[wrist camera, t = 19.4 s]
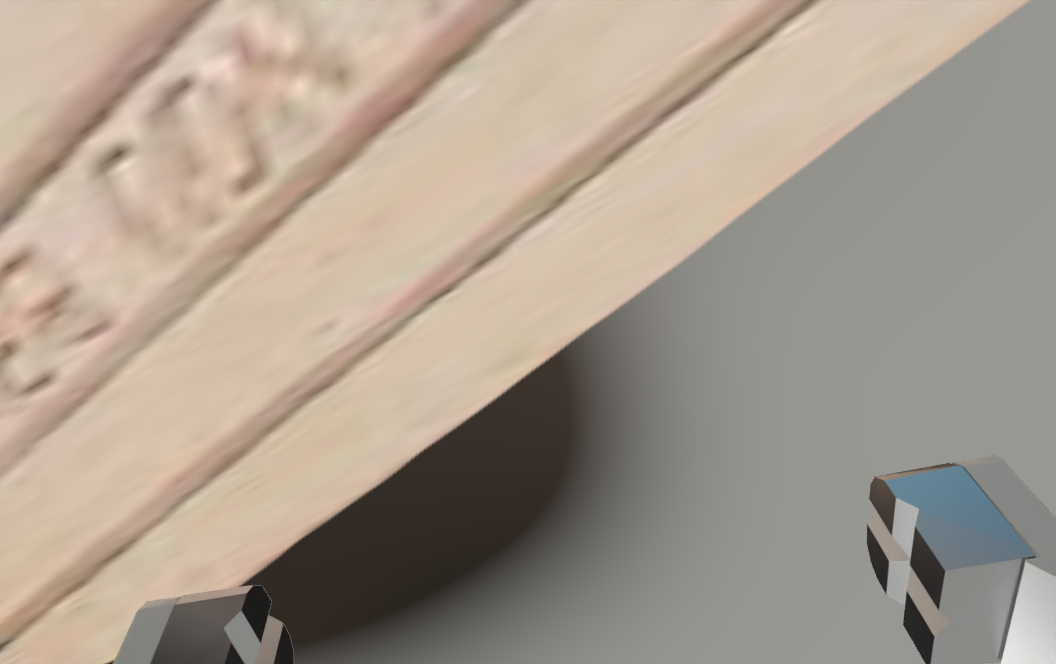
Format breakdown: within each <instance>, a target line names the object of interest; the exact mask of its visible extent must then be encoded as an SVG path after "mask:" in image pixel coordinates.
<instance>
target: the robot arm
mask: <svg viewBox="0 0 1056 664" xmlns="http://www.w3.org/2000/svg"><path fill="white" fill-rule="evenodd" d="M869 500H870V501H871V503H872V504H873V506H874V508H875V509H876V511H877V513H876V514H875V515H874V516H873V517H872V519H871V520H870V521H869V522H868V523H867V546H868V551H869V556H870V561H871V563H872V567H873V569H874V572H875V574H876V577H877V579H878V581H879V583H880V585H881V586H882V588H883V590H884V592H885V594H886V595H887V596H889V597H890V598H892V599H894V600H895V601H897V602H898V603H900V604H902V605H903V606H905V610H904V619H903V626H904V627H905V629H906V631H907V633H908V634H909V636H910V638H911V640H912V641H913V643H914V645H915V647H916V648H917V650H918V652H919V654H920V655H921V657H922V659H923V661H924V662H925V664H985V663H993V662H1000V661H1001V664H1056V517H1055V516H1054V515H1053V514H1052V513H1051V512H1050V511H1049V510H1048V509H1047V507H1046V506H1045V505H1044V504H1043V503H1042V502H1041V501H1040V500H1039V499H1038V498H1037V497H1036V495H1035V494H1034V493H1033V492H1032V491H1031V490H1030V489H1029V488H1028V486H1027V485H1026V484H1024V482H1023V481H1022V480H1021V479H1020V478H1019V477H1018V475H1017V474H1016V473H1015V472H1014V471H1013V470H1012V469H1011V468H1010V467H1009V466H1008V464H1007V463H1006V462H1005V461H1004V460H1003V459H1001V458H999V457H997V456H995V455H991V456H985V457H980V458H975V459H969V460H963V461H957V462H954V463H952V464H951V463H946V464H940V465H935V466H930V467H924V468H918V469H914V470H908V471H903V472H897V473H892V474H886V475H881V476H876V477H874V479H873V481H872V482H871V485H870V494H869ZM271 603H272V601H271V599H270V598H269V596H268V594H267V593H266V591H265V590H264V588H263V586H260V585H251V586H244V587H237V588H231V589H224V590H217V591H210V592H203V593H197V594H190V595H183V596H180V597H174V598H167V599H160V600H154V601H147V602H146V603H145V604H144V605H143V606H142V607H141V608H140V609H139V610H138V611H137V613H136V615H135V617H134V619H133V621H132V623H131V626H130V628H129V630H128V632H127V634H126V637H125V639H124V641H123V643H122V645H121V647H120V650H119V652H118V654H117V656H116V658H115V661H114V663H113V664H294V651H293V646H292V643H291V639H290V635H289V633H288V631H287V629H286V627H285V625H284V623H282V622H280V621H278V620H276V619H274V618H273V617H271V616H269V615H268V614H269V611H270V607H271Z"/></svg>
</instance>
